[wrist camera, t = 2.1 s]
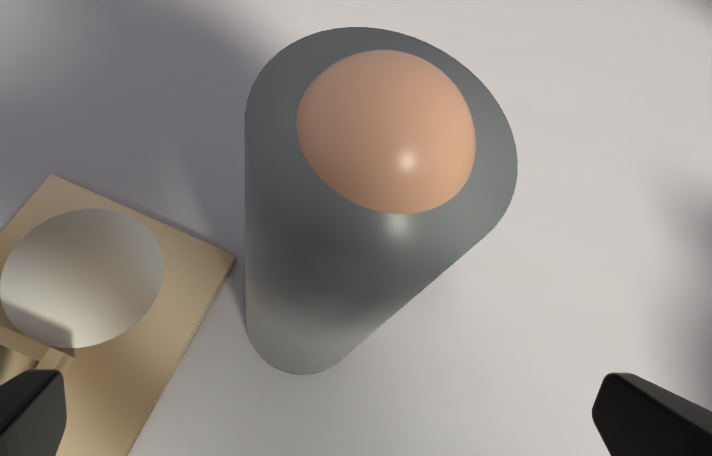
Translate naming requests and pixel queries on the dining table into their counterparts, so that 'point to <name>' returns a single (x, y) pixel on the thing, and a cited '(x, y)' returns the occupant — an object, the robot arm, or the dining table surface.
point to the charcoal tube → (361, 186)
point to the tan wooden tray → (101, 307)
